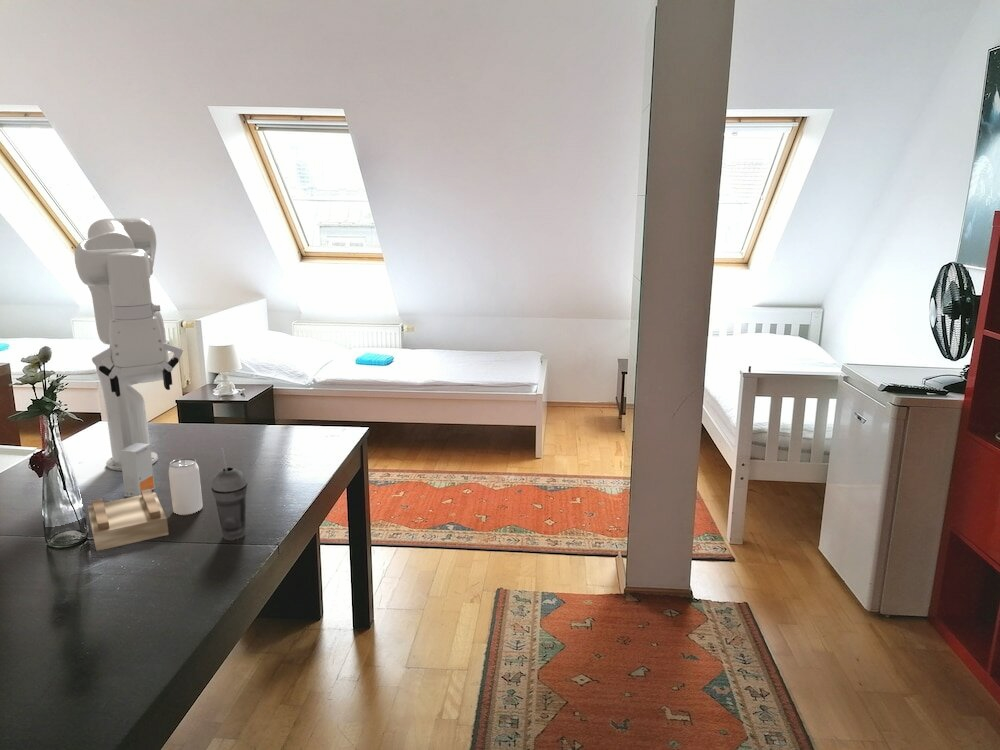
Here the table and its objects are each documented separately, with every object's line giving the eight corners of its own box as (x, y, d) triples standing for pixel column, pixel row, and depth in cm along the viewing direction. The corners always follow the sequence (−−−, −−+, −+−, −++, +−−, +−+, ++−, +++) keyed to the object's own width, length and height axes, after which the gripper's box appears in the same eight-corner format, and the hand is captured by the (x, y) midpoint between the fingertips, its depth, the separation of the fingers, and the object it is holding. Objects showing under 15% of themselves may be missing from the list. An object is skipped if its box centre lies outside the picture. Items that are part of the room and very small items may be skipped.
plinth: (89, 522, 166) (86, 499, 164) (157, 508, 173) (154, 486, 172) (96, 551, 153) (92, 527, 151) (168, 534, 160) (165, 511, 159)
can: (174, 518, 168) (168, 469, 165) (172, 507, 173) (166, 460, 170) (204, 512, 171) (199, 464, 168) (201, 502, 176) (196, 455, 173)
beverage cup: (231, 546, 155) (222, 457, 150) (209, 537, 159) (200, 451, 154) (258, 533, 161) (251, 447, 156) (236, 525, 165) (229, 441, 160)
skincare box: (140, 498, 178) (134, 452, 175) (124, 496, 179) (118, 450, 176) (156, 488, 184) (150, 443, 181) (141, 487, 185) (135, 442, 182)
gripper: (174, 306, 160) (182, 382, 164) (84, 313, 151) (95, 393, 155) (180, 311, 154) (189, 390, 158) (87, 319, 145) (99, 402, 149)
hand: (142, 391), depth 156 cm, fingers open, 9 cm apart
